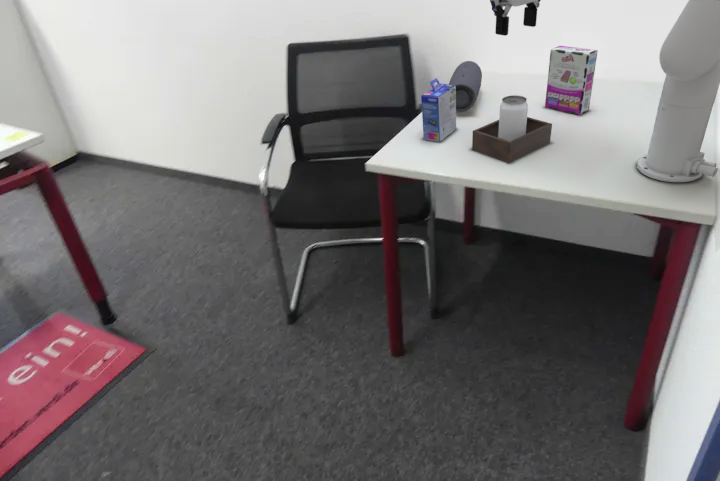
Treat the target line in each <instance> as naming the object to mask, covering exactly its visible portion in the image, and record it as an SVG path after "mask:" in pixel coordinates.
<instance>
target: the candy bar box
mask: <svg viewBox="0 0 720 481" xmlns="http://www.w3.org/2000/svg"><path fill="white" fill-rule="evenodd" d="M598 51H599V50H598V49H591V48H582V47H574V46H573V47H572V46H565V45H558V46H556V47H554V48H551V49H550V55H549V64H548V73H547V75H548V76H547V83H546V93H545V100H544V101H545V102H544V107H545V109H546V108H547V109H550V110H555V111H560V112H564V113H568V114H574V115H579V116H581V115H582V114H584V113H586V112H588V111H589V110H590V106H591V105H590V104H591V98H592V91H593V85H594V77H595V73H596V72H595V70H596V65H597V57H598Z"/></svg>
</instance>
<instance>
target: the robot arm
mask: <svg viewBox="0 0 720 481" xmlns="http://www.w3.org/2000/svg"><path fill="white" fill-rule="evenodd" d="M489 2H490V6H491V10H492V12H493V15H494V17H495V32H494V33H495V34H496V35H499V36H505V37H506V36H508V35H509V27H510V26H509V25H510V24H509V23H510V16H508V14H509V13H510V10H511V8H512V7H520V6H524V5H526V6H525V7H524V11H523V26H524V27H531V28H534V27H536V26H537V18H538V8H539V7H540V2H541V0H489ZM658 59H659V64H660V67H661V70H662V71H663V73H664V74H665V79H664V81H663V85H662V90H661V94H660V97H659V101H658V106H657V112H656V115H655V120H654V123H653V129H652V133H651V137H650V142H649V146H648V150H647V154H645V155H643V156H641V157H639V159H638V160H637V164H636V167H637V170H638V171H639V172H640V173H641V174H643V175H644V176H645V177H648V178H651V179H654V180H657V181H662V182H665V183H666V182H668V183H688V182H693V181H696V180H697V179H700V178H701V177H703V175H704V176H708V177H711V178H714V177H715V176H716V175H717V172H718V167H717V163H716V162H713V161H706V160H705V159H704V157H705V152H703V151H701V150H702V146H703V143H704V139H705V135H706V132H707V128H708V125H709V121H710V117H711V113H712V110H713V107H714V104H715V101H716V97H717V94H718V90H719V87H720V0H688V1H687V3H686V4H685V6H684V8H683V9H682V11H681V13H680V15H679V16H678V18H677V19H676V21H675V23H673V26H672V27H671V29H670V31H669V32H668V34H667V36H666V37H665V40H664V41H663V43H662V45H661V48H660V51H659V58H658Z"/></svg>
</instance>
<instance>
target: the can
mask: <svg viewBox="0 0 720 481" xmlns="http://www.w3.org/2000/svg"><path fill="white" fill-rule="evenodd" d="M527 100H528V98H526V97H525V96H522V95H517V94H515V95H507V96H504V97H503V98H502V99H501V103H500V105H499V115H498V116H499V118H498V120H499V131H498V138H501V139H504V140H507V141H512V140H515V139H517V138H519V137H521V136H523V135H525V134H526V124H527V117H528V113H529V112H528V111H529V105H528V101H527Z"/></svg>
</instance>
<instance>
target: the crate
mask: <svg viewBox="0 0 720 481" xmlns="http://www.w3.org/2000/svg"><path fill="white" fill-rule="evenodd" d="M552 129H553V123H551V122H547V121H543V120H539V119H537V118H533V117H529V116H527V124H526V134H525V135H523V136H521V137H519V138H517V139H515V140H512V141H507V140H504V139H501V138H498V131H499V119H497V120H495V121H492V122H490V123H488V124H486V125H483V126H481V127H479V128H475V129H474V130H472V136H471V137H472V141H471V150H472V151H474V152H477V153H480V154H482V155H486V156H488V157H491V158H494V159H496V160H499V161H502V162H505V163H508V164H511V163H512V162H515V161H516V160H518V159H520V158H523V157H524V156H527V155H528V154H531V153H533V152H535V151H537V150H539V149H540V148H543V147H544V146H547V145H549V144H550V143H551V137H552Z"/></svg>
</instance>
